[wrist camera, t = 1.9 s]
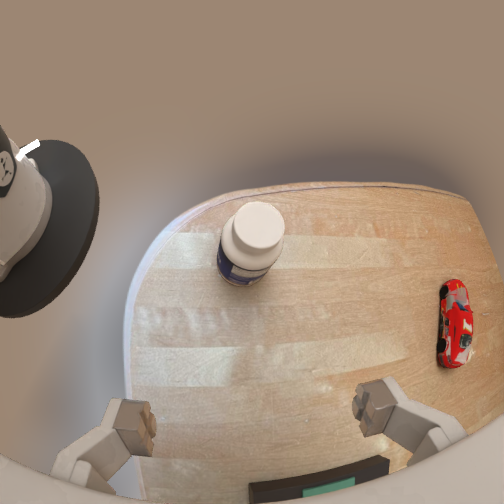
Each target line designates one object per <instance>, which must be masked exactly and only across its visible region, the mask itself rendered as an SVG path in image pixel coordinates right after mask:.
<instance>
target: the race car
mask: <svg viewBox="0 0 504 504" xmlns="http://www.w3.org/2000/svg"><path fill="white" fill-rule="evenodd" d="M440 297H441V298H442V299H443V300H441V322H440V337H439V338H440V339H441V340H440V341H439V342H438V344H437V350H438V352H441V353H440V354H438V355H439V361H440V364H441V365H442V366H443V367H446V368H458V367H460V366H461V365H464V364H465V363H466V361H467V359H468V354H469V350H470V347H471V341H472V335H473V316H472V313H473V311H471V309H470V306H469V298H468V292H467V289H466V287H465V286H464V284H463V283H462V282H461V281H460V280H457V279H451V280H449V281H447V282H445V283H444V284H443V287H442V288H441V290H440Z"/></svg>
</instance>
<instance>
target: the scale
mask: <svg viewBox="0 0 504 504" xmlns="http://www.w3.org/2000/svg"><path fill="white" fill-rule="evenodd" d="M389 463H390V459H387V458H385V457H382V456H380V455H377V456H374V457H371V458H368V459H365V460H362V461H359V462H355V463H352V464H349V465H345V466H342V467H338V468H334V469H330V470H326V471H322V472H317V473H313V474H308V475H303V476H298V477H292V478H286V479H279V480H272V481H264V482H255V483H249V495H250V504H260V503H270V502H278V501H286V500H292V499H299V498H304V497H310V496H315V495H319V494H324V493H328V492H333V491H337V490H341V489H344V488H348V487H352V486H355V485H358V484H362V483H365V482H368V481H371V480H374V479H377V478H380V477H383V476H385V475H388V473H389Z"/></svg>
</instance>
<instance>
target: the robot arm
mask: <svg viewBox="0 0 504 504" xmlns="http://www.w3.org/2000/svg"><path fill="white" fill-rule="evenodd" d="M39 145H40V144H39V142H38V140H36V141H34V142H33V143H31V144H29V145H27V146H26V147H24V148H22V149H21V150H20V149H19V148H18V147H17V145H16V144H15V143H14V142H13V141H12V140H11V139H10V138H8V137H7V135H6V134H5V131H4V129H3V128H2V127H1V125H0V282H2V281H3V280H4V279H5V278H6V277H7V275H8V274H9V272H10V270H11V269H12V267H13V266H14V265H15V264H16V263H17V262H18V261H20V260H21V259H22V258H24V257H25V256H26V255H27V254H28V253H29V252H30V251H31V250H32V249H33V248H34V247H35V245H36V244H37V242H38V241H39V239H40V238H41V236H42V234H43V232H44V230H45V228H46V226H47V224H48V221H49V218H50V214H51V209H52V191H51V187H50V185H49V183H48V181H47V180H46V179H45V178H44V177H43V176H42V175H41V174H40V173H39V170H38V165H37V163H36V162H35V160H34V159H32V158H31V159H28V158H27V157H26V156H25V155H24V154H25V153H27V152H29V151H30V150H32V149H34V148H35V147H37V146H39ZM355 391H356V393H357V395H356V396H355V397H354V398H353V401H352V411H353V414H354V417H355V419H357V420H359V421H361V422H360V425H359V427H360V429H361V431H362V433H363V435H364V437H369V436H372V435H376V434H380V433H383V434H384V435H386V436H387V437H389V438H390V439H392V440H393V441H395V442H396V443H398V444H399V445H401V446H402V447H404V448H405V449H407V450H409V451H410V452H412V453H413V455H412V456H411V458H410V459H409V461H408V462H407V466H408V467H406V468H404V469H401V470H399V471H396V472H393V473H391V474H388V475H385V476H383V477H380V478H377V479H374V480H371V481H368V482H365V483H362V484H358V485H355V486H352V487H348V488H344V489H341V490H337V491H333V492H328V493H324V494H319V495H315V496H310V497H304V498H299V499H292V500H286V501H278V502H270V503H260V504H504V412H503V413H502V414H500V415H499V416H498V417H496V418H495V419H493V420H492V421H490V422H489V423H487V424H486V425H485V426H483V427H481V428H480V429H478V430H477V431H475V432H474V433H472V434H470V435H468V434H467V433H466V431H465V430H464V429H463V427H462V426H461V425H460V423H459V422H458V421H457V419H456V418H455V417H453V416H451V415H448V414H446V413H444V412H441V411H439V410H436V409H434V408H432V407H429V406H427V405H425V404H422V403H420V402H418V401H415V400H413V399H411V400H409V399H408V397H407V396H406V394H405V393H404V392H403V390H402V389H401V387H400V386H399V385H398V383H397V382H396V380H395V379H394V378H393V377H392V376H388V377H385V378H381V379H377V380H373V381H369V382H365V383H361V384H358V385H357V387H356V390H355ZM150 409H151V407H150V404H149V402H147V401H138V400H128V399H118V398H112V399H111V400H110V401H109V404H108V406H107V409H106V412H105V414H104V417H103V419H102V422H101V424H100V426H96V427H95V428H93V429H92V430H90V431H89V432H87V433H86V434H85V435H83V436H82V437H80V438H79V439H77V440H76V441H75V442H73V443H72V444H70V445H69V446H67V447H66V448H64V449H63V450H61V451H60V452H59V453H58V454H57V457H56V459H55V462H54V464H53V467H52V469H51V471H50V474H49V475H46V474H44V473H41V472H39V471H36V470H34V469H32V468H29V467H27V466H25V465H23V464H21V463H19V462H16V461H14V460H12V459H10V458H8V457H6V456H4V455H3V454H1V453H0V504H171V503H161V502H153V501H146V500H139V499H133V498H128V497H122V496H117V495H116V492H115V490H114V489H113V488H112V487H111V486H110V485H109V484H108V483H107V481H108V480H109V479H110V478H111V477H112V476H113V475H114V474H115V473H116V472H117V471H118V470H119V469H120V468H121V467H122V466H123V465H124V464H125V463H126V462H127V460H128V459H129V458H130V457H131V455H136V456H147V457H152V451H153V446H154V444H153V441H152V438H153V437H155V435H156V420H155V416H154V414H152V413H151V412H150Z"/></svg>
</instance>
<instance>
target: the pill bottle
mask: <svg viewBox="0 0 504 504" xmlns="http://www.w3.org/2000/svg"><path fill="white" fill-rule="evenodd" d="M284 231H285V224H284V220H283V217H282V215H281V214H280V212H279V211H278V210H277V209H276V208H275V207H273V206H272V205H270V204H268V203H265V202H260V201H254V202H249V203H247V204H245V205H243V206H242V207H240V208H239V210H238V211H237V212H236V214H234V215H233V216H231V217H230V218H229V219H228V220H227V222H226V223H225V225H224V227H223V230H222V233H221V238H220V243H219V249H218V254H217V266H218V270H219V272H220V274H221V275H222V277H223V278H224V279H225V280H226V281H228V282H229V283H231V284H234V285H237V286H249V285H252V284H254V283H256V282H258V281H259V280H260V279H261V278H262V277H263V276H264V275H265V274H266V272H267V271H268V270H269V269H270V267H271V266H272V265H273V264H274V263H275V261H276V260H277V259H278V257H279V256H280V254H281V252H282V249H283V243H284V239H283V234H284Z"/></svg>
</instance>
